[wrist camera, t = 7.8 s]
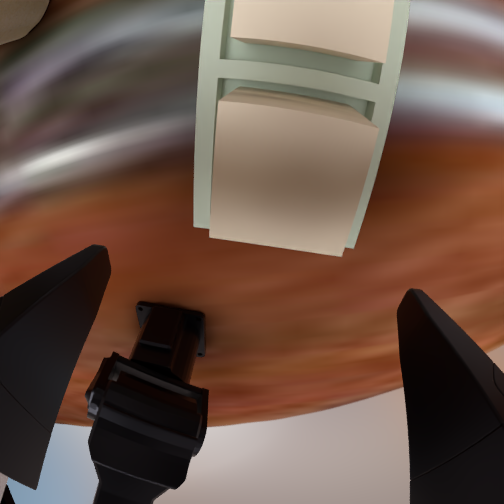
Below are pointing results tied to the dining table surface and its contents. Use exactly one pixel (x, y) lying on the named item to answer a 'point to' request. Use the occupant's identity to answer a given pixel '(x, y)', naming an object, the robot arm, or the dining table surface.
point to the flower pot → (19, 17)
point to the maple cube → (288, 170)
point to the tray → (299, 67)
